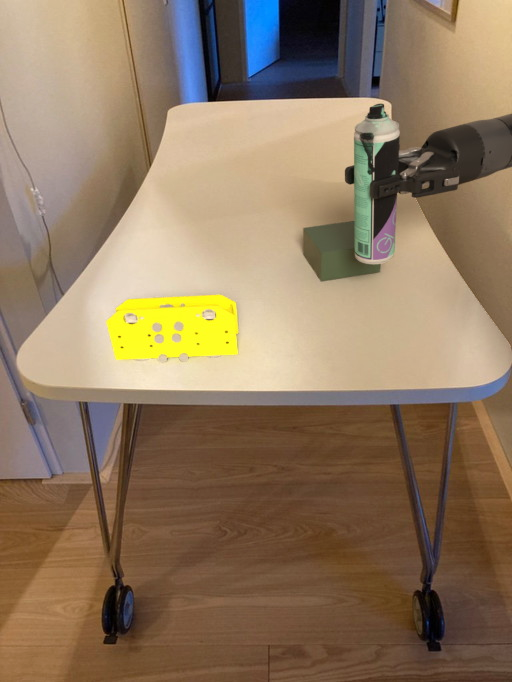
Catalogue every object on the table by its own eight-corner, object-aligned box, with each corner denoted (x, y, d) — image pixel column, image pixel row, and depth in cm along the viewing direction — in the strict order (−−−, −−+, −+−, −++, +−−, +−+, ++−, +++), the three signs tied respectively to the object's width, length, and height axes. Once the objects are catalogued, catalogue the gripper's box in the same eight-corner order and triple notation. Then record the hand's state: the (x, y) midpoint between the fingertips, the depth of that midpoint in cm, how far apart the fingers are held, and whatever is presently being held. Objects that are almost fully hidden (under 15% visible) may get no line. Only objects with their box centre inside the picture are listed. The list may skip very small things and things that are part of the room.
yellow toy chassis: (116, 367, 72) (102, 313, 67) (124, 341, 76) (112, 289, 72) (238, 361, 71) (233, 307, 67) (239, 336, 76) (234, 283, 71)
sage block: (380, 272, 89) (382, 244, 86) (321, 281, 87) (321, 253, 84) (357, 246, 97) (359, 219, 94) (303, 254, 95) (303, 227, 92)
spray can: (394, 264, 74) (400, 110, 62) (353, 264, 75) (351, 112, 64) (394, 245, 78) (401, 97, 66) (356, 245, 80) (355, 100, 68)
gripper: (435, 113, 77) (329, 140, 73) (511, 137, 66) (392, 170, 62) (430, 165, 82) (331, 194, 77) (501, 196, 71) (389, 231, 66)
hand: (359, 183), depth 70 cm, fingers closed on spray can, 5 cm apart
